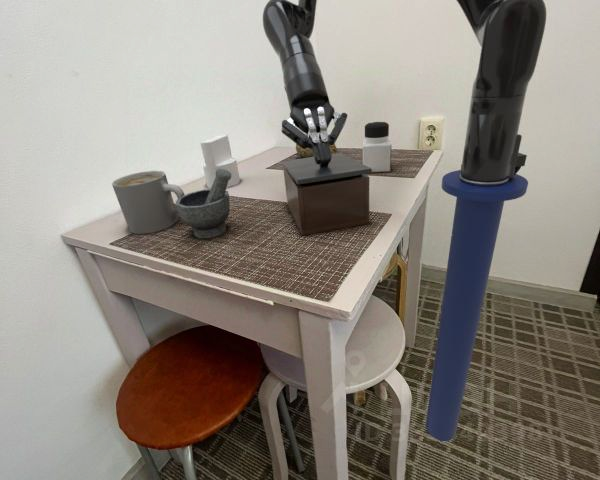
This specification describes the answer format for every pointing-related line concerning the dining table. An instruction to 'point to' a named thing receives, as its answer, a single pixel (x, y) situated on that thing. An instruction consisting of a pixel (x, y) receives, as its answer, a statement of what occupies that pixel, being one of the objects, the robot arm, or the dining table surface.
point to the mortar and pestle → (207, 207)
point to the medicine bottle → (377, 147)
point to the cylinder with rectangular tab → (219, 159)
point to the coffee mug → (147, 201)
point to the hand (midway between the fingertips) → (325, 164)
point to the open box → (328, 203)
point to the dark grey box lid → (324, 169)
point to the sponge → (309, 152)
